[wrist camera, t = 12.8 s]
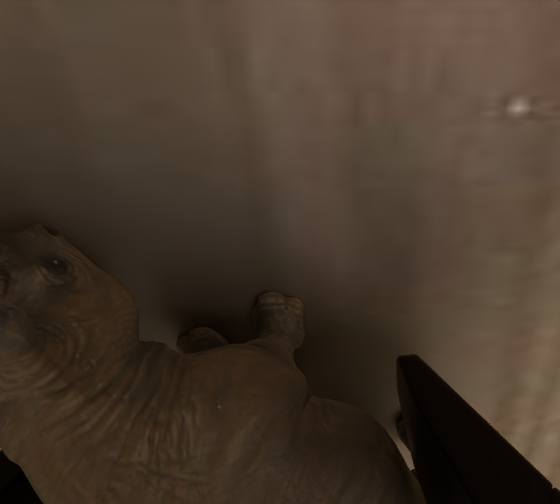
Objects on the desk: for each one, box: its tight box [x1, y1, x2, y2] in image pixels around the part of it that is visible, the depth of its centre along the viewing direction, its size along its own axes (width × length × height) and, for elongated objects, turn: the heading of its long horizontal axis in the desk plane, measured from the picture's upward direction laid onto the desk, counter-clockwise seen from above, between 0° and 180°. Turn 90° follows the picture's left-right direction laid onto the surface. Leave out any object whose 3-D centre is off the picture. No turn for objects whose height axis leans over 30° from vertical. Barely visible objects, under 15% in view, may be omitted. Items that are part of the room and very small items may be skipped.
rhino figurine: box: [0, 224, 426, 504], centre depth 8 cm, size 4×14×6 cm, turn 49°
